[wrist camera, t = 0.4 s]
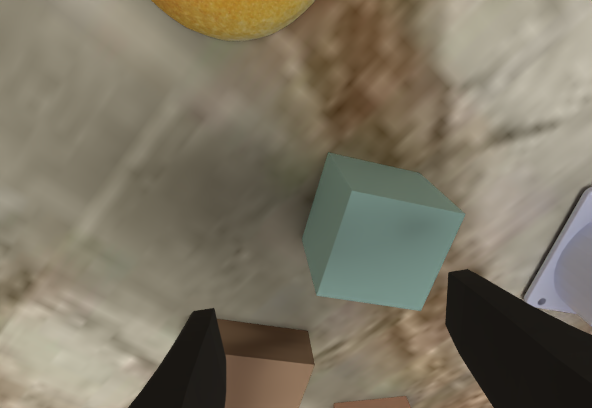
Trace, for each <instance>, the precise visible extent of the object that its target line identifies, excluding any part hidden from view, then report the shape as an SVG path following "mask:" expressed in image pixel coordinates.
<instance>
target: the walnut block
mask: <svg viewBox="0 0 592 408" xmlns="http://www.w3.org/2000/svg"><path fill="white" fill-rule="evenodd" d="M217 322H218V326H219V331H220V335H221V339H222V343H223V347H224V352H225V356H226V400H225V408H299V406H300V403H301V400H302V398H303V395H304V392H305V390H306V387H307V384H308V382H309V379H310V376H311V374H312V371H313V368H314V365H315V364H314V359H313V354H312V349H311V344H310V339H309V334H308V331H304V330H296V329H289V328H281V327H274V326H266V325H259V324H251V323H244V322H236V321H229V320H221V319H217Z"/></svg>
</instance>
